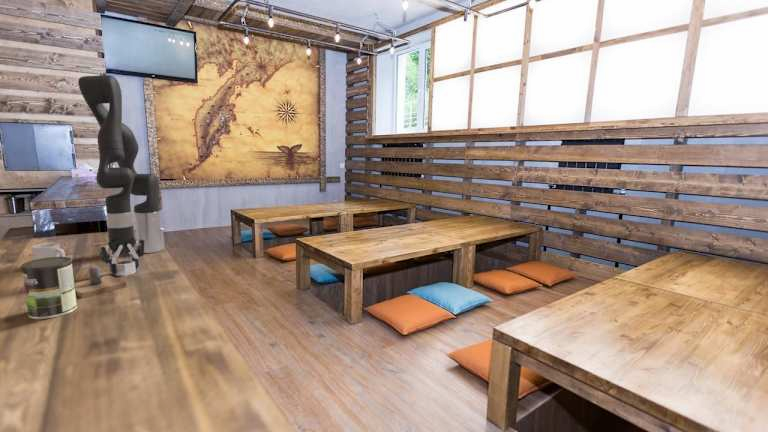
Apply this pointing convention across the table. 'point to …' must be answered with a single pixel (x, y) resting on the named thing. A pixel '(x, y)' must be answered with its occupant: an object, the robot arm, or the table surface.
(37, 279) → the coffee can
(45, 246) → the cup
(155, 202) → the robot arm
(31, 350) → the table surface
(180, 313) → the table surface
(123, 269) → the ring
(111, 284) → the post block
